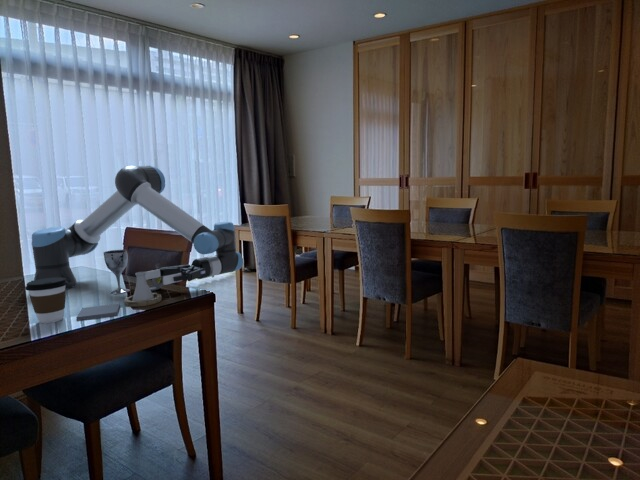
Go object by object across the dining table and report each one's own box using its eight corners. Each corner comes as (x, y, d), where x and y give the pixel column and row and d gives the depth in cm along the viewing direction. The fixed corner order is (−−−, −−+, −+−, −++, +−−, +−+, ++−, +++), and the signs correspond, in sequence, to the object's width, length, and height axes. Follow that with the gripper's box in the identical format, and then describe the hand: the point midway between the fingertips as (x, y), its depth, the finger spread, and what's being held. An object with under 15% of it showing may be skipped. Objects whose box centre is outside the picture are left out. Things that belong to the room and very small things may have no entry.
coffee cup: (74, 320, 139) (69, 280, 138) (31, 328, 133) (26, 287, 131) (69, 312, 148) (64, 275, 146) (28, 320, 142) (23, 281, 140)
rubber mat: (82, 310, 149) (82, 307, 149) (120, 306, 153) (119, 303, 153) (76, 320, 139) (76, 317, 139) (117, 315, 142) (116, 312, 142)
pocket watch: (142, 288, 177) (139, 262, 175) (165, 286, 179) (163, 260, 178) (141, 293, 169) (138, 266, 168) (165, 291, 172) (163, 263, 170)
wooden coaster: (126, 299, 161) (125, 295, 161) (161, 295, 164) (161, 291, 164) (123, 308, 150) (123, 303, 150) (161, 303, 154) (161, 299, 153)
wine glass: (128, 293, 171) (124, 252, 169) (105, 295, 170) (100, 253, 168) (133, 288, 179) (129, 249, 177) (111, 289, 177) (106, 250, 175)
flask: (147, 305, 153) (144, 274, 152) (127, 304, 154) (124, 275, 153) (159, 299, 160) (156, 270, 159) (139, 299, 161) (136, 270, 160)
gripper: (227, 281, 167) (174, 294, 151) (187, 273, 183) (135, 285, 167) (225, 260, 166) (172, 271, 150) (185, 254, 182) (133, 264, 166)
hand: (152, 278), depth 158 cm, fingers open, 13 cm apart
